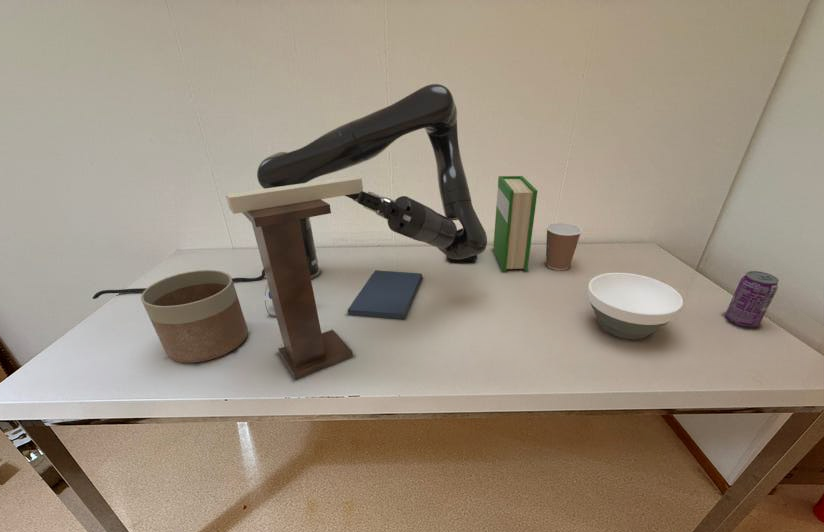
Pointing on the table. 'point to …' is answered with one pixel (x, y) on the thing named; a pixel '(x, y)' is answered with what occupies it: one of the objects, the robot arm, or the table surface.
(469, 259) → the carrying case
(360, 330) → the table surface
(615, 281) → the bowl
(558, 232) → the coffee cup
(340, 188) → the rod
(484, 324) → the table surface
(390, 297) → the notebook
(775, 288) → the beverage can
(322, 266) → the table surface
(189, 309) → the planter
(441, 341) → the table surface
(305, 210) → the pedestal
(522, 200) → the hardback book
